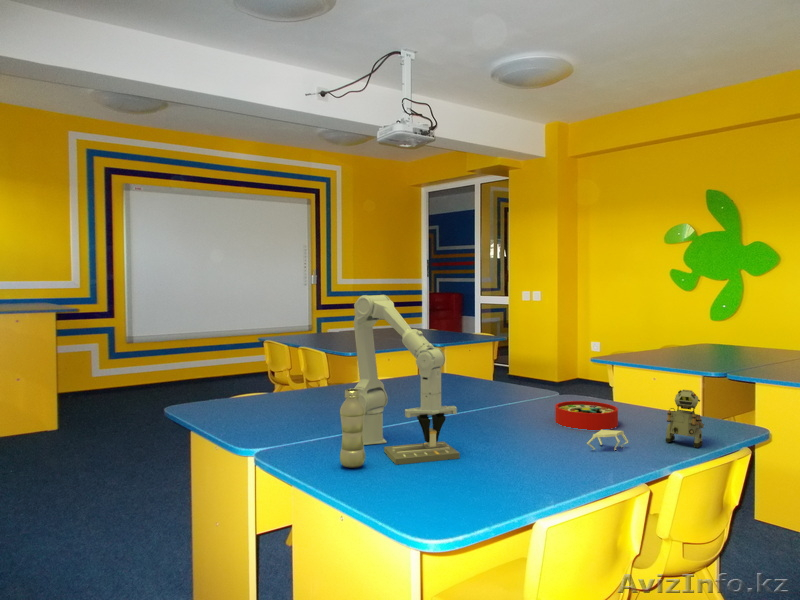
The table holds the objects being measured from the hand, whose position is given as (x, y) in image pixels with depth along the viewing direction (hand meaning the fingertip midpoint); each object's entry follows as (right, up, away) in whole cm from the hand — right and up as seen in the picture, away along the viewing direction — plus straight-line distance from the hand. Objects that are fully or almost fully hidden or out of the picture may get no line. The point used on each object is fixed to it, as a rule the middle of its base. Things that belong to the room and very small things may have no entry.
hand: (431, 441), depth 159 cm
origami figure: (+49, -4, +4) cm, 50 cm away
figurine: (+75, -3, +9) cm, 76 cm away
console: (-3, -4, -1) cm, 5 cm away
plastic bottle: (-21, -4, -10) cm, 24 cm away
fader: (0, -2, 0) cm, 2 cm away
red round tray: (+54, -3, +33) cm, 63 cm away
